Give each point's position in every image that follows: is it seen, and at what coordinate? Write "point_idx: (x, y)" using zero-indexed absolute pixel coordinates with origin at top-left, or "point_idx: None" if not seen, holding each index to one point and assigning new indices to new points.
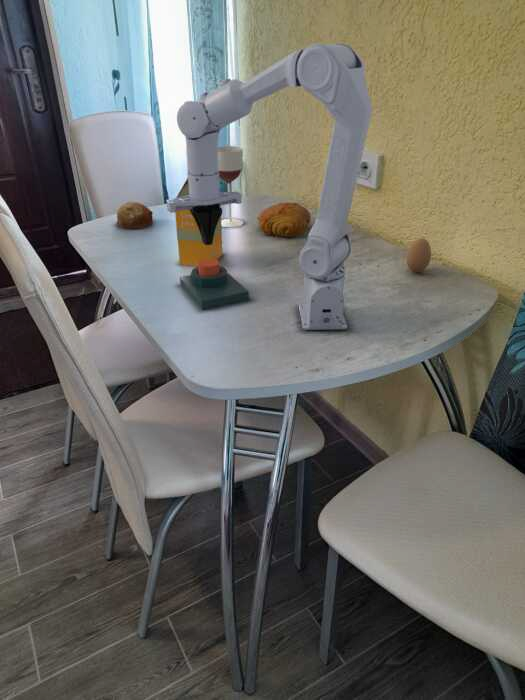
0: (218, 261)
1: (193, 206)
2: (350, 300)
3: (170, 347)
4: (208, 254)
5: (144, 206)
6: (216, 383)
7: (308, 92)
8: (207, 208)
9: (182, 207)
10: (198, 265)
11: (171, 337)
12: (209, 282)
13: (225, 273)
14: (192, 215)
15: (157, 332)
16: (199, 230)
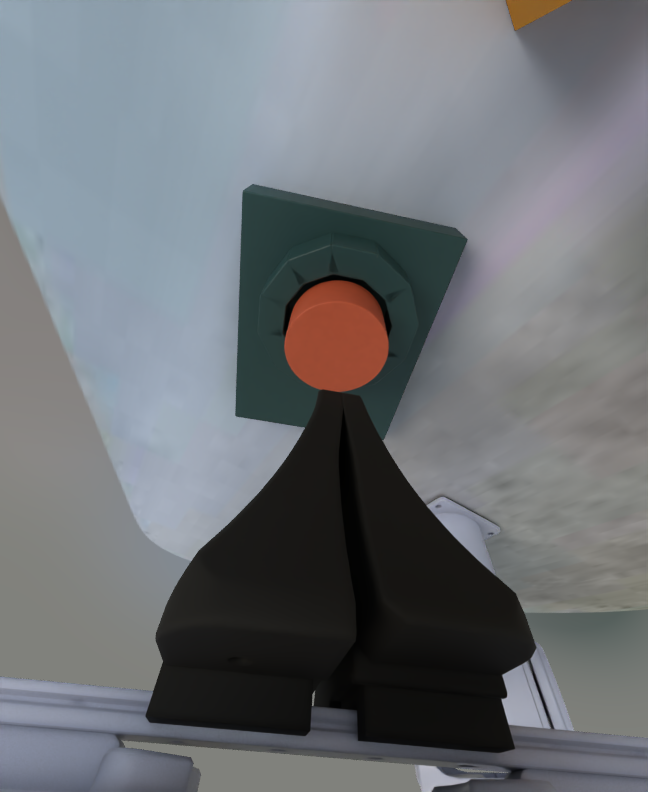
0: (380, 366)
1: (163, 739)
2: (545, 521)
3: (126, 471)
4: (555, 1)
5: None
6: (174, 551)
7: None
8: (338, 696)
9: (11, 732)
10: (285, 339)
11: (134, 449)
12: None
13: (376, 381)
14: (236, 517)
15: (105, 420)
16: (302, 434)
